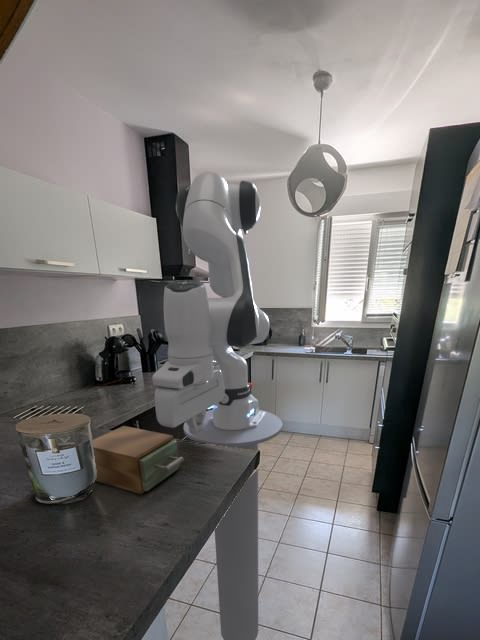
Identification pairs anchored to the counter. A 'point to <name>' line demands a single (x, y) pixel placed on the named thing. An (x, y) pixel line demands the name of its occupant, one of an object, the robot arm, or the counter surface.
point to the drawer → (159, 464)
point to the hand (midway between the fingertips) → (196, 431)
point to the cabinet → (125, 456)
